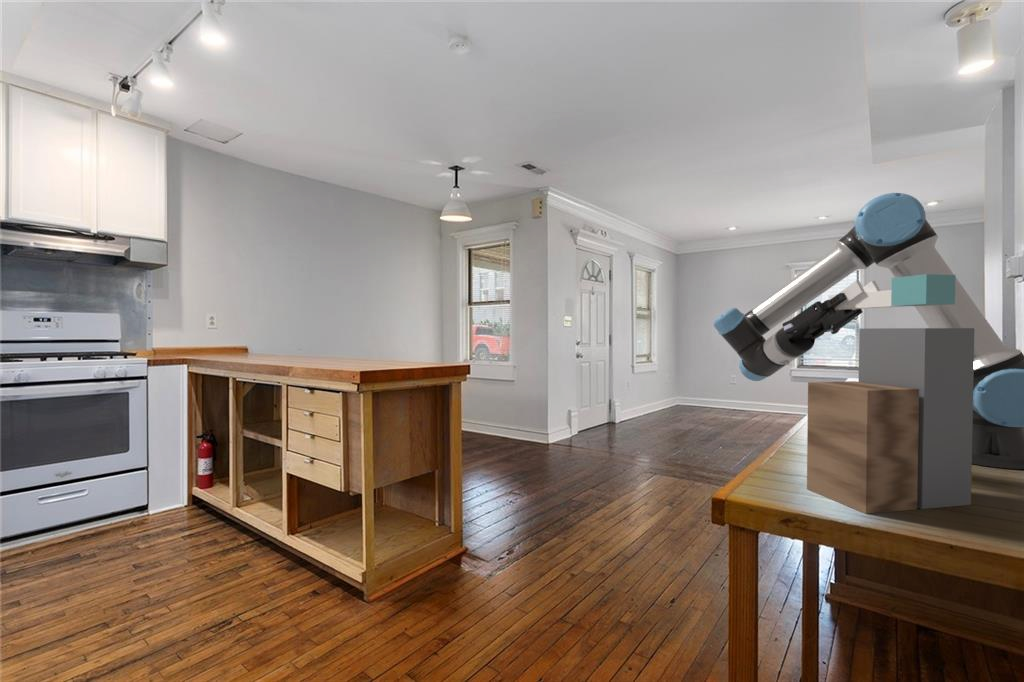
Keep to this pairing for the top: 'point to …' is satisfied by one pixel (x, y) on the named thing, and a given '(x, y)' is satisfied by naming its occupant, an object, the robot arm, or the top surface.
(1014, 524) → the top surface
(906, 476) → the tall wooden pillar
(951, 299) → the bar
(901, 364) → the tower
